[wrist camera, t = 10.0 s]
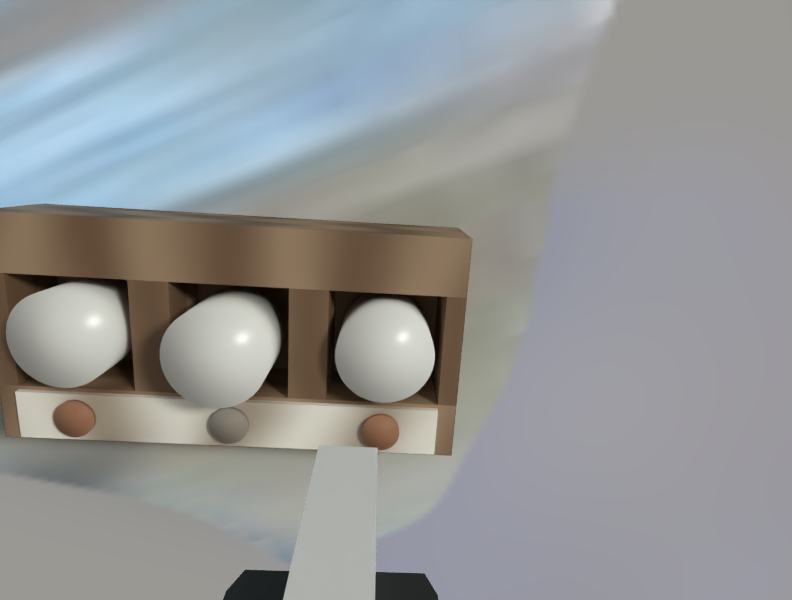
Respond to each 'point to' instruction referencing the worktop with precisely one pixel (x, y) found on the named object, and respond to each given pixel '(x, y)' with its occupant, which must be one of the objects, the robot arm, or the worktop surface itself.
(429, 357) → the right button
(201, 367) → the middle button
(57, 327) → the left button
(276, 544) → the worktop surface
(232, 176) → the worktop surface
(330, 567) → the robot arm
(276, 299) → the button panel
